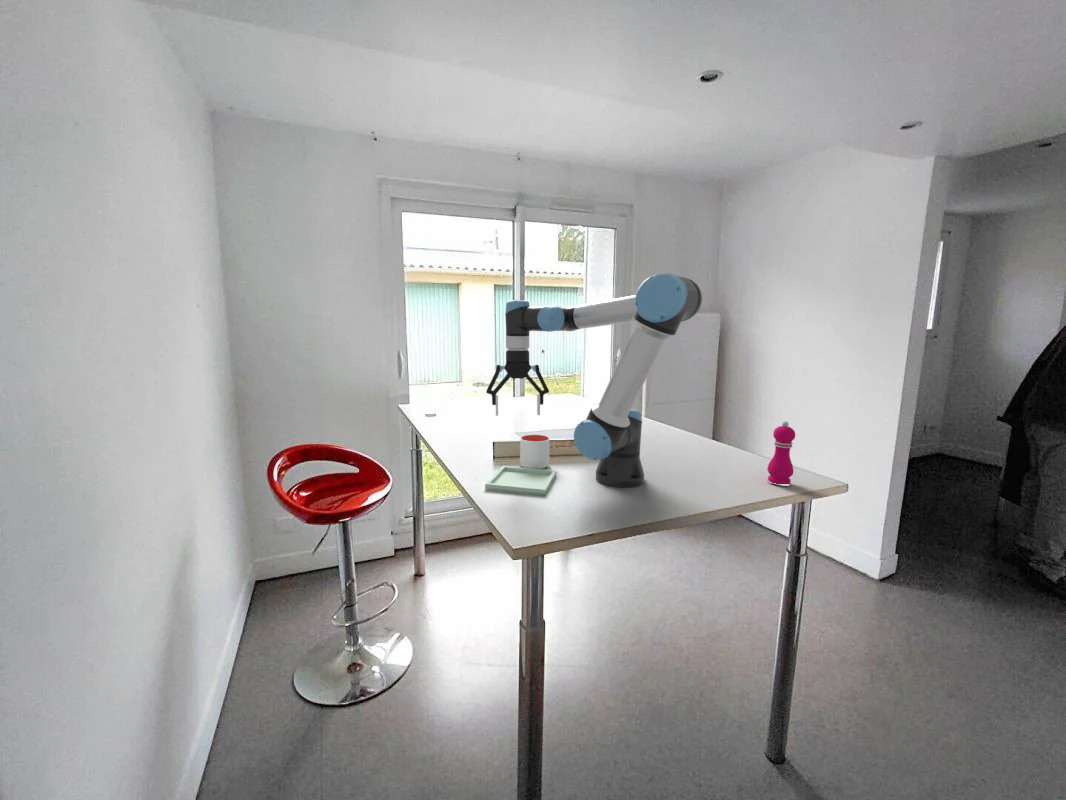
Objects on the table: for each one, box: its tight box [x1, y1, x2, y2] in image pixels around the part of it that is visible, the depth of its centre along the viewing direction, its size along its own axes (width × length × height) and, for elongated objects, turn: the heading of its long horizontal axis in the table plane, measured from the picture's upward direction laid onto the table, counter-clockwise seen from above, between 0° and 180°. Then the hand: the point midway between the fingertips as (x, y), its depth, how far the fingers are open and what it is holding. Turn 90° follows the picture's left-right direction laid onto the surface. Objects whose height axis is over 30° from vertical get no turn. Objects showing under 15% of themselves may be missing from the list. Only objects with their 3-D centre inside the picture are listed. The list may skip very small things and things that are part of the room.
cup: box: [519, 434, 551, 469], centre depth 159 cm, size 10×10×10 cm
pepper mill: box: [766, 420, 796, 485], centre depth 145 cm, size 7×7×20 cm
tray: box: [484, 465, 557, 496], centre depth 143 cm, size 18×18×2 cm
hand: (517, 414), depth 152 cm, fingers open, 13 cm apart
